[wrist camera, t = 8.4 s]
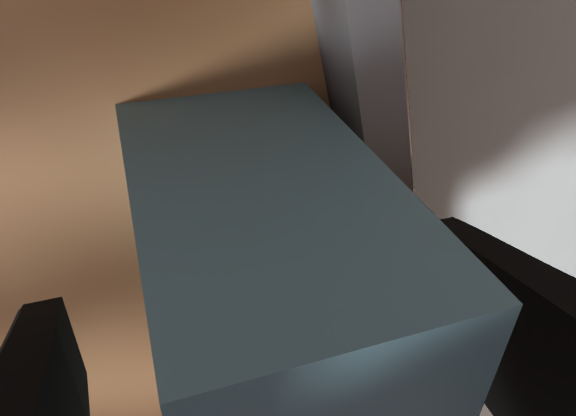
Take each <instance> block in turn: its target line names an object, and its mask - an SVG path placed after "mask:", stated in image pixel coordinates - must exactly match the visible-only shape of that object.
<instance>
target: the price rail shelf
mask: <svg viewBox="0 0 576 416" xmlns="http://www.w3.org/2000/svg"><path fill="white" fill-rule="evenodd" d="M304 82H305V83H306V84H307V85H308V86H309V87H310V88H311V89H312V90H313V91H314V92H315V93H316V94H317V95H318V96H319V97H320V98H321V99H322V100H323V101H324V102H325V103H326V104H327V105H328V106H329V107H330V108H331V109H332V111H333V112H334V113H335V114H336V115H337V116H338V117H339V118H340V119H341V120H342V121H343V122H344V123H345V124H346V125H347V126H348V127H349V128H350V129H351V130H352V131H353V132H354V133H355V134H356V135H357V136H358V137H359V138H360V139H361V140H362V141H363V142H364V143H365V144H366V145H367V146H368V147H369V148H370V149H371V150H372V151H373V152H374V153H375V154H376V155H377V156H378V157H379V158H380V159H381V160H382V161H383V162H384V163H385V164H386V165H387V166H388V167H389V168H390V170H391V171H392V172H393V173H394V174H395V175H396V176H397V177H398V178H399V179H400V180H401V181H402V182H403V183H404V184H405V185H406V186H407V187H408V188H409V189H410V190H411V191H412V192H413V193H414V194H415V190H414V189H413V179H412V165H411V157H412V143H411V128H410V114H409V100H408V86H407V72H406V58H405V44H404V30H403V16H402V2H401V0H0V347H1V345H2V343H3V341H4V339H5V337H6V335H7V333H8V331H9V329H10V327H11V325H12V322H13V320H14V318H15V316H16V314H17V312H18V310H19V309H20V308H21V307H22V305H23V304H28V303H33V302H38V301H43V300H48V299H52V298H57V297H62V298H63V301H64V304H65V307H66V310H67V314H68V317H69V320H70V323H71V326H72V329H73V332H74V335H75V338H76V341H77V344H78V347H79V350H80V353H81V356H82V359H83V362H84V365H85V368H86V371H87V380H88V392H89V406H90V416H162V414H161V409H160V405H159V398H158V391H157V384H156V378H155V371H154V364H153V357H152V351H151V344H150V337H149V330H148V324H147V317H146V310H145V303H144V297H143V290H142V283H141V276H140V270H139V263H138V256H137V250H136V243H135V236H134V229H133V223H132V216H131V209H130V202H129V196H128V189H127V182H126V175H125V169H124V162H123V155H122V148H121V142H120V135H119V128H118V121H117V115H116V108H115V104H123V103H131V102H140V101H149V100H157V99H166V98H175V97H183V96H192V95H201V94H209V93H218V92H227V91H235V90H244V89H252V88H261V87H270V86H278V85H287V84H296V83H304Z"/></svg>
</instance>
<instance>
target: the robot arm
mask: <svg viewBox="0 0 576 416" xmlns="http://www.w3.org/2000/svg"><path fill="white" fill-rule="evenodd" d="M441 221H442V222H443V223H444V224H445V225H446V226H447V227H448V228H449V230H450V231H451V232H452V233H453V234H454V235H455V236H456V237H457V238H458V239H459V240H460V241H461V242H462V243H463V244H464V245H465V246H466V247H467V248H468V249H469V250H470V251H471V252H472V253H473V254H474V255H475V256H476V257H477V258H478V259H479V260H480V261H481V262H482V263H483V264H484V265H485V266H486V267H487V268H488V269H489V270H490V271H491V272H492V273H493V274H494V275H495V276H496V277H497V278H498V279H499V280H500V281H501V282H502V283H503V284H504V285H505V286H506V287H507V289H508V290H509V291H510V292H511V293H512V294H513V295H514V296H515V297H516V298H517V299H518V300H519V301H520V302H521V303H522V304H523V305H522V308H521V311H520V313H519V316H518V318H517V321H516V323H515V326H514V328H513V331H512V333H511V336H510V339H509V341H508V344H507V346H506V349H505V351H504V354H503V356H502V359H501V361H500V364H499V367H498V369H497V372H496V374H495V377H494V379H493V382H492V384H491V387H490V389H489V392H488V395H487V397H486V400H485V402H484V403H485V405H486V406H487V408H488V409H489V410H490V412H491V413H492V414H493V416H576V278H575V277H573V276H570V275H568V274H566V273H564V272H562V271H560V270H558V269H556V268H554V267H552V266H550V265H548V264H546V263H544V262H542V261H540V260H538V259H536V258H534V257H532V256H530V255H528V254H527V253H525V252H523V251H521V250H519V249H517V248H515V247H513V246H511V245H509V244H507V243H505V242H503V241H501V240H499V239H497V238H495V237H493V236H492V235H490V234H488V233H486V232H484V231H482V230H480V229H478V228H476V227H473V226H471V225H469V224H467V223H465V222H463V221H461V220H458V219H456V218H454V217H451V218H446V219H441ZM0 416H90V406H89V392H88V380H87V371H86V368H85V365H84V362H83V359H82V356H81V353H80V350H79V347H78V344H77V341H76V338H75V335H74V332H73V329H72V326H71V323H70V320H69V317H68V314H67V310H66V307H65V304H64V301H63V298H62V297H57V298H52V299H48V300H43V301H38V302H33V303H28V304H23V305H22V307H21V308H20V309H19V310H18V312H17V314H16V316H15V318H14V320H13V322H12V325H11V327H10V329H9V331H8V333H7V335H6V337H5V339H4V341H3V343H2V345H1V347H0Z"/></svg>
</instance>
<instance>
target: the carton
mask: <svg viewBox="0 0 576 416" xmlns="http://www.w3.org/2000/svg"><path fill="white" fill-rule="evenodd" d="M115 108H116V115H117V121H118V128H119V135H120V142H121V148H122V155H123V162H124V169H125V175H126V182H127V189H128V196H129V202H130V209H131V216H132V223H133V229H134V236H135V243H136V250H137V256H138V263H139V270H140V276H141V283H142V290H143V297H144V303H145V310H146V317H147V324H148V330H149V337H150V344H151V351H152V357H153V364H154V371H155V378H156V384H157V391H158V398H159V405H160V409H161V414H162V416H479V415H480V412H481V410H482V407H483V405H484V402H485V400H486V397H487V395H488V392H489V389H490V387H491V384H492V382H493V379H494V377H495V374H496V372H497V369H498V367H499V364H500V361H501V359H502V356H503V354H504V351H505V349H506V346H507V344H508V341H509V339H510V336H511V333H512V331H513V328H514V326H515V323H516V321H517V318H518V316H519V313H520V311H521V308H522V305H523V304H522V303H521V302H520V301H519V300H518V299H517V298H516V297H515V296H514V295H513V294H512V293H511V292H510V291H509V290H508V289H507V287H506V286H505V285H504V284H503V283H502V282H501V281H500V280H499V279H498V278H497V277H496V276H495V275H494V274H493V273H492V272H491V271H490V270H489V269H488V268H487V267H486V266H485V265H484V264H483V263H482V262H481V261H480V260H479V259H478V258H477V257H476V256H475V255H474V254H473V253H472V252H471V251H470V250H469V249H468V248H467V247H466V246H465V245H464V244H463V243H462V242H461V241H460V240H459V239H458V238H457V237H456V236H455V235H454V234H453V233H452V232H451V231H450V230H449V228H448V227H447V226H446V225H445V224H444V223H443V222H442V221H441V220H440V219H439V218H438V217H437V216H436V215H435V214H434V213H433V212H432V211H431V210H430V209H429V208H428V207H427V206H426V205H425V204H424V203H423V202H422V201H421V200H420V199H419V198H418V197H417V196H416V195H415V194H414V193H413V192H412V191H411V190H410V189H409V188H408V187H407V186H406V185H405V184H404V183H403V182H402V181H401V180H400V179H399V178H398V177H397V176H396V175H395V174H394V173H393V172H392V171H391V170H390V168H389V167H388V166H387V165H386V164H385V163H384V162H383V161H382V160H381V159H380V158H379V157H378V156H377V155H376V154H375V153H374V152H373V151H372V150H371V149H370V148H369V147H368V146H367V145H366V144H365V143H364V142H363V141H362V140H361V139H360V138H359V137H358V136H357V135H356V134H355V133H354V132H353V131H352V130H351V129H350V128H349V127H348V126H347V125H346V124H345V123H344V122H343V121H342V120H341V119H340V118H339V117H338V116H337V115H336V114H335V113H334V112H333V111H332V109H331V108H330V107H329V106H328V105H327V104H326V103H325V102H324V101H323V100H322V99H321V98H320V97H319V96H318V95H317V94H316V93H315V92H314V91H313V90H312V89H311V88H310V87H309V86H308V85H307V84H306V83H305V82H304V83H296V84H287V85H278V86H270V87H261V88H252V89H244V90H235V91H227V92H218V93H209V94H201V95H192V96H183V97H175V98H166V99H157V100H149V101H140V102H131V103H123V104H115Z"/></svg>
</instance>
